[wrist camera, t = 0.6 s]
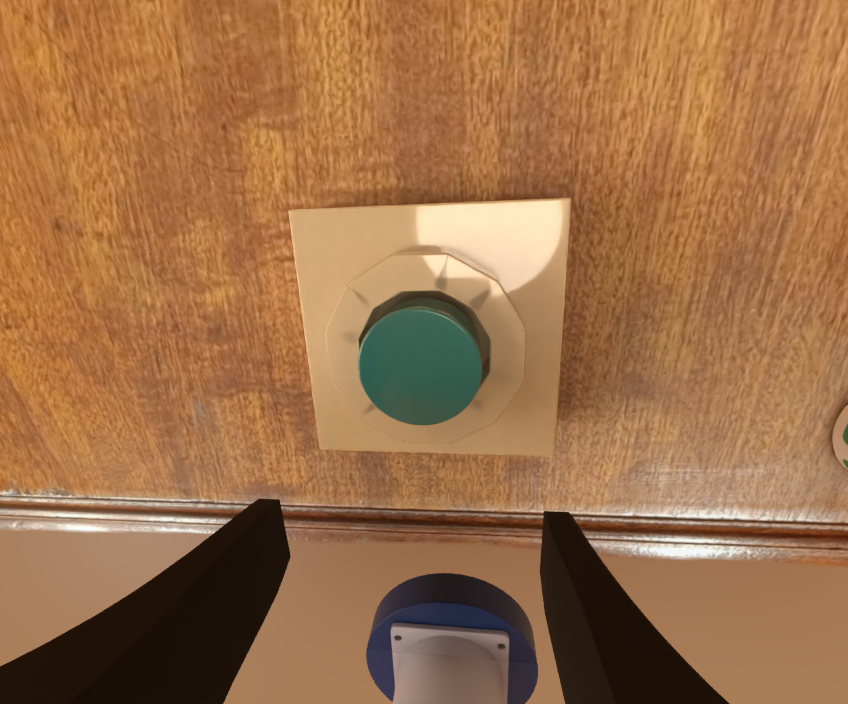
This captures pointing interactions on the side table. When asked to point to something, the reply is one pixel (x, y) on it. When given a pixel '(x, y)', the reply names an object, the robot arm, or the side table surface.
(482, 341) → the push button box
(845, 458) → the supplement bottle
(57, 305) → the side table surface
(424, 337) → the teal button
